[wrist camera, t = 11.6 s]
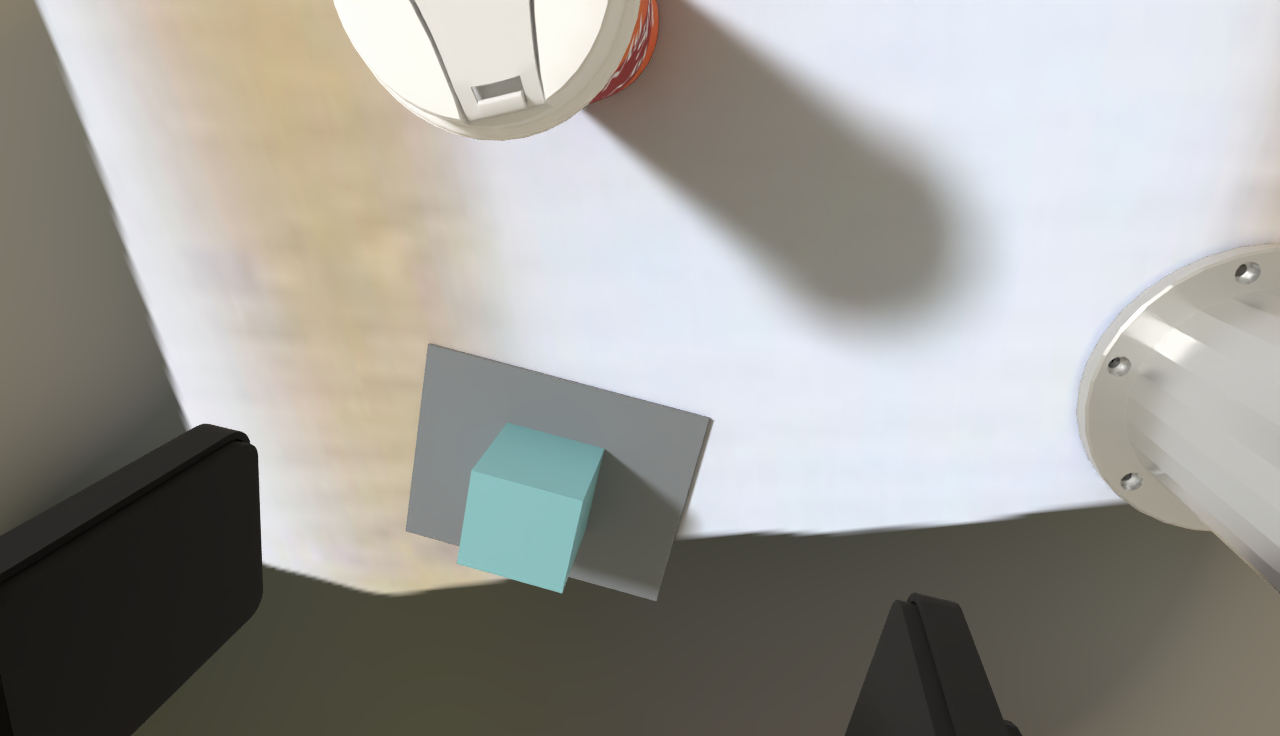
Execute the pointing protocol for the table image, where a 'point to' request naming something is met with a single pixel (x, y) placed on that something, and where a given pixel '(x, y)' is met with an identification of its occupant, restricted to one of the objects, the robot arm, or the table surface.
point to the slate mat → (624, 426)
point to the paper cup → (501, 57)
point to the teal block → (529, 506)
